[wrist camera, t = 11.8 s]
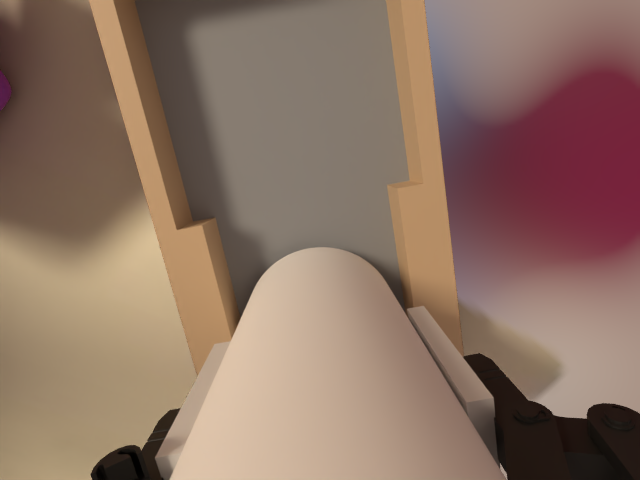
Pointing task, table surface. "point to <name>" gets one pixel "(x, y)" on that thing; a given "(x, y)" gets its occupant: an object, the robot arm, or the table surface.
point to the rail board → (283, 145)
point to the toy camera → (4, 90)
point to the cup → (330, 387)
